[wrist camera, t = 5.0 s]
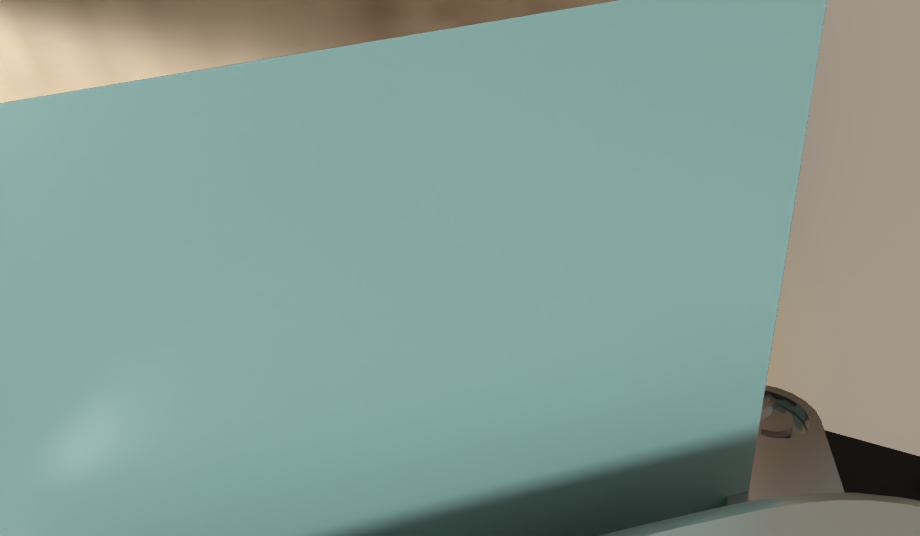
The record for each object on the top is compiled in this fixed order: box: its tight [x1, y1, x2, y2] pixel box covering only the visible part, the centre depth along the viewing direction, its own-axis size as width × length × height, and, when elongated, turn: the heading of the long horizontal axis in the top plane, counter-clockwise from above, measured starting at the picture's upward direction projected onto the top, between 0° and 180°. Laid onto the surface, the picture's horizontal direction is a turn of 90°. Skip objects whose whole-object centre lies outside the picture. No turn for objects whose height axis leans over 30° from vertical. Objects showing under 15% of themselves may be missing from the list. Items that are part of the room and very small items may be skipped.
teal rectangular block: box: [0, 0, 827, 536], centre depth 9 cm, size 13×8×8 cm, turn 9°
